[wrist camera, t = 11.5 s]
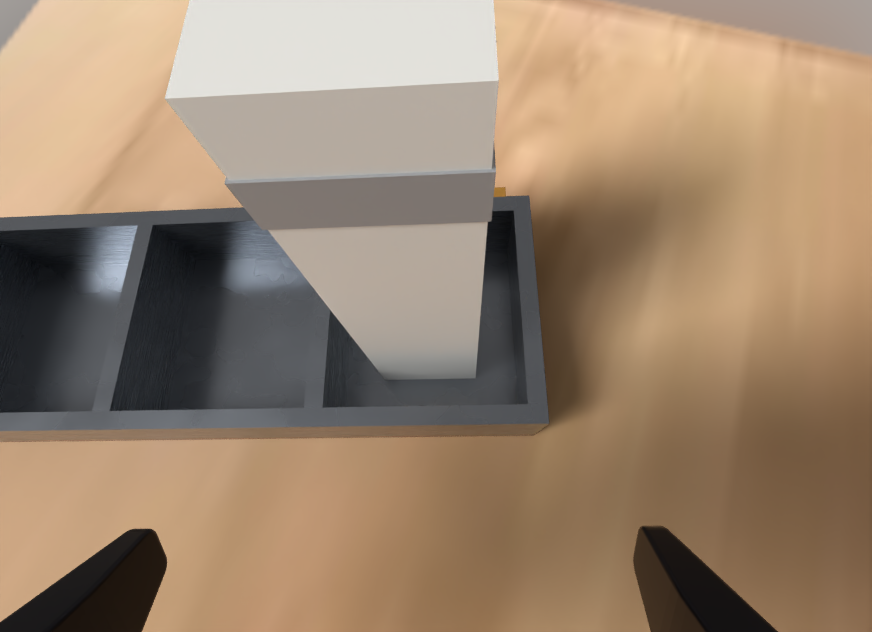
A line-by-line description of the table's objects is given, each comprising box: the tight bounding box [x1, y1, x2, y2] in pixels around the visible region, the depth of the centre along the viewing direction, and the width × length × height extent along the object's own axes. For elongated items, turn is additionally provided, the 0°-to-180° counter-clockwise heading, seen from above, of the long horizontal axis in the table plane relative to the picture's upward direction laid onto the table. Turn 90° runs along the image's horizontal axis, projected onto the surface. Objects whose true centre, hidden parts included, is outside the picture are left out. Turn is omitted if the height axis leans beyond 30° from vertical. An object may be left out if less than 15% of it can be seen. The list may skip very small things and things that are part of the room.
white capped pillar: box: [165, 0, 499, 380], centre depth 12 cm, size 4×4×14 cm
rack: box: [0, 187, 549, 442], centre depth 18 cm, size 22×9×4 cm, turn 90°
